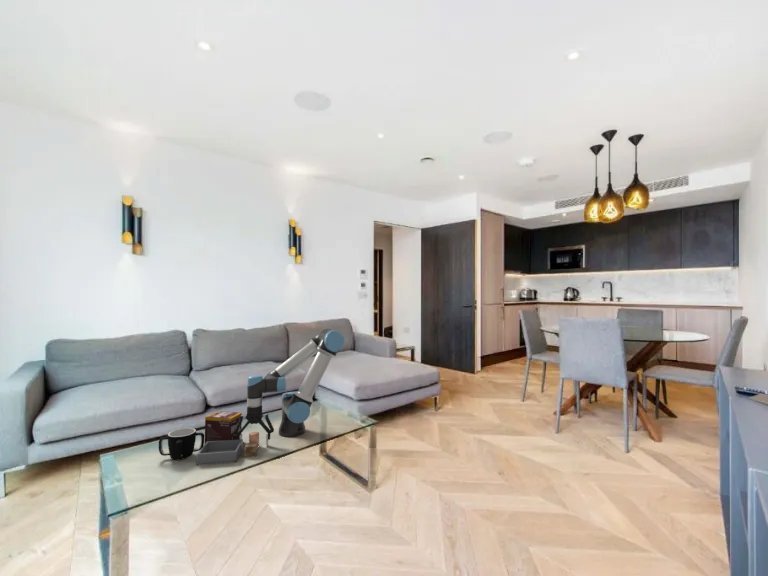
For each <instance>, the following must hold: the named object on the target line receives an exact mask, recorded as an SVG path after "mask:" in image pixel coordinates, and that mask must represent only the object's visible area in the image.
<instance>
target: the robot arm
mask: <svg viewBox="0 0 768 576" xmlns="http://www.w3.org/2000/svg"><path fill="white" fill-rule="evenodd" d="M309 340H310V341H309V342H308V343H307V344H306V345H305V346H303V347H302V348H301V349H300V350H298V351H297V352H296V353H294V354H293V355H291V356H290V357H289V358H288V359H286V360H285V361H284V362H282V363H281V364H280V365H278V366H277V367H276V368H275V369H274V370H272V371H270V372H267V373H265V375H264V376H263V375H261V374H253V375H249V376H248V378H247V387H246V389H247V394H246V395H247V396H246V404H247V405H246V406H247V407H246V415H244V414H242V415H241V417H240V422H239V424H238V426H237V428H236V430H235V432H234V435H237V436H238V440H240V439H243V432H244V430H245V429H246V428H247V427H248V426H249V424H251V425H253V424H256V425H257V424H259V425H260V426H261V427H262V428H263V430H264V431H265V432H266V435H265V446H266V445H268V446H269V441H270V440H271V433H274V431H275V428H274V426H273V424H272V422H271V420H270V418H269V417H270V416H269V413H266V414H263V394H268V393H269V394H270V393H280V392H284V393H282V395H281V396H282V397H281V420H280V424H279V426H278V427H279V428H278V435H279V436H281V437H287V438H289V437H297V436H301V435H303V434H305V433H306V425H305V421H307V420H308V418H309V417H310V415H311V407H312V404H313V402H314V400H313V396H314V395H315V392H316V390H317V388H318V386H319V385H320V382H321V381H322V378H323V377H324V374H325V373H326V370H327V368H328V366H329V363H330V362H331V360H332V358H335V357H336V356H337V353H338V352H339V351H340V350H342V349H343V347H344V346H345V337H344V335H343V333H341V332H340V331H339V330H336V329H332V328H325V329H323V330H321V331H320V332H319V333H317V334H316V335H315V336H314V337H312V338H311V339H309ZM313 356H315V357H314V359H313V360H312V363H311V365H310V366H309V369H308V370H307V372H306V375H305V376H304V379H303V380H302V383H301V385H300V386H299V388H298V390H297V391H288V392H285V391H286V389H287V387H286V386H287V381H286V378H287V377H289V375H291V374H292V373H293V372H294V371H296V370H297V369H298V368H299V367H301V366H302V365H303V364H305V363H306V362H307V361H308V360H309V359H311V358H312V357H313ZM263 419H265V421H266V423H265V422H264V420H263ZM244 420H247V421H246V422H245V424H244V425H242V424H243V421H244ZM241 423H242V424H241ZM240 425H241V426H242V427H241V430H240V431H239V432H238V430H239V427H240Z"/></svg>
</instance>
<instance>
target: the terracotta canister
mask: <svg viewBox="0 0 768 576" xmlns="http://www.w3.org/2000/svg"><path fill="white" fill-rule="evenodd" d="M255 442H257V447H258V446H259V447H260V432H259V431H252V432H250V433H248V443H255ZM259 447H258V448H259Z"/></svg>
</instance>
